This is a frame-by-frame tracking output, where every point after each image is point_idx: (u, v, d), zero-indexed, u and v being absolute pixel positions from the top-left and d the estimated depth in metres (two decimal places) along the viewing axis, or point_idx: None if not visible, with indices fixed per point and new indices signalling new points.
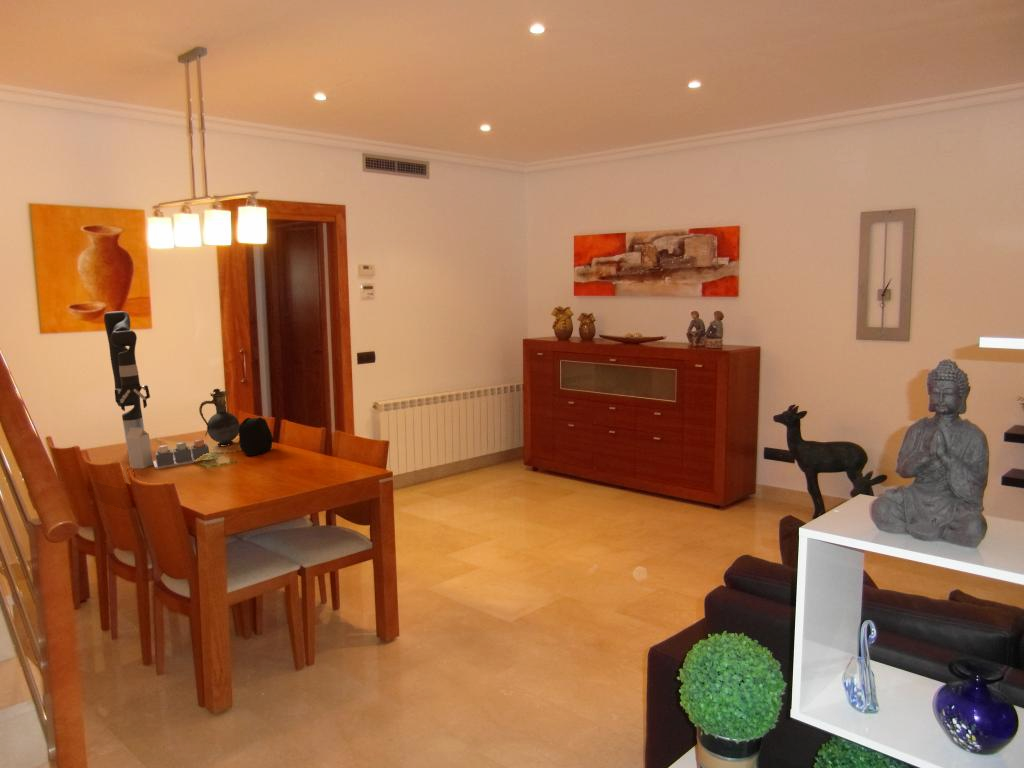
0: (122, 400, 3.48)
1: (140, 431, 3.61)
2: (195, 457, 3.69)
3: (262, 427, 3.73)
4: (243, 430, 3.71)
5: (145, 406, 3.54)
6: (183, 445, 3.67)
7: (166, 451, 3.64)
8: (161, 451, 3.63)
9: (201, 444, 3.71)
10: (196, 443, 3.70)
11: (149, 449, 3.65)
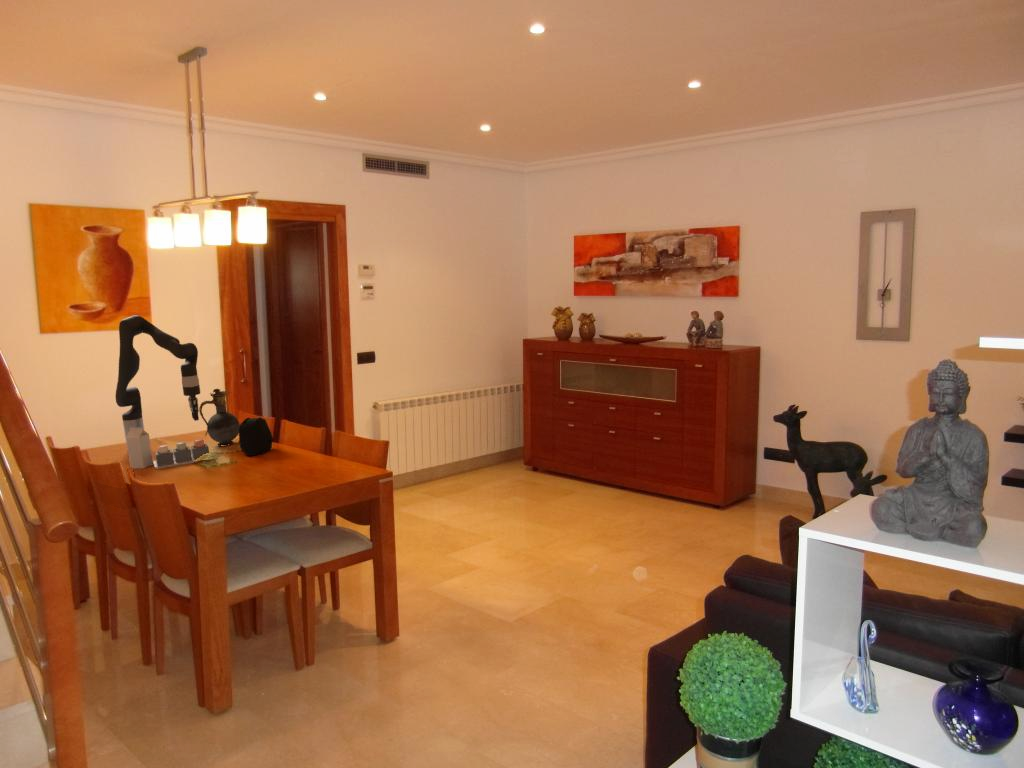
0: (197, 409, 3.67)
1: (140, 431, 3.61)
2: (195, 457, 3.69)
3: (262, 427, 3.73)
4: (243, 430, 3.71)
5: None
6: (183, 445, 3.67)
7: (166, 451, 3.64)
8: (161, 451, 3.63)
9: (201, 444, 3.71)
10: (196, 443, 3.70)
11: (149, 449, 3.65)
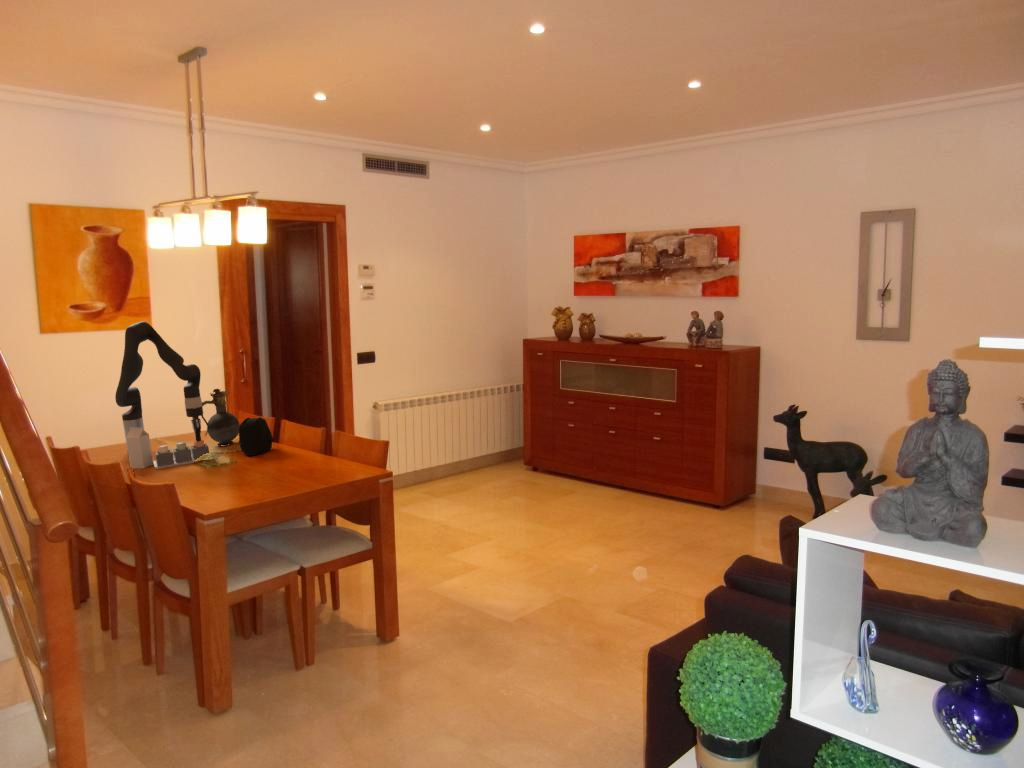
0: None
1: (140, 431, 3.61)
2: (195, 457, 3.69)
3: (262, 427, 3.73)
4: (243, 430, 3.71)
5: None
6: (183, 445, 3.67)
7: (166, 451, 3.64)
8: (161, 451, 3.63)
9: (201, 444, 3.71)
10: (196, 443, 3.70)
11: (149, 449, 3.65)
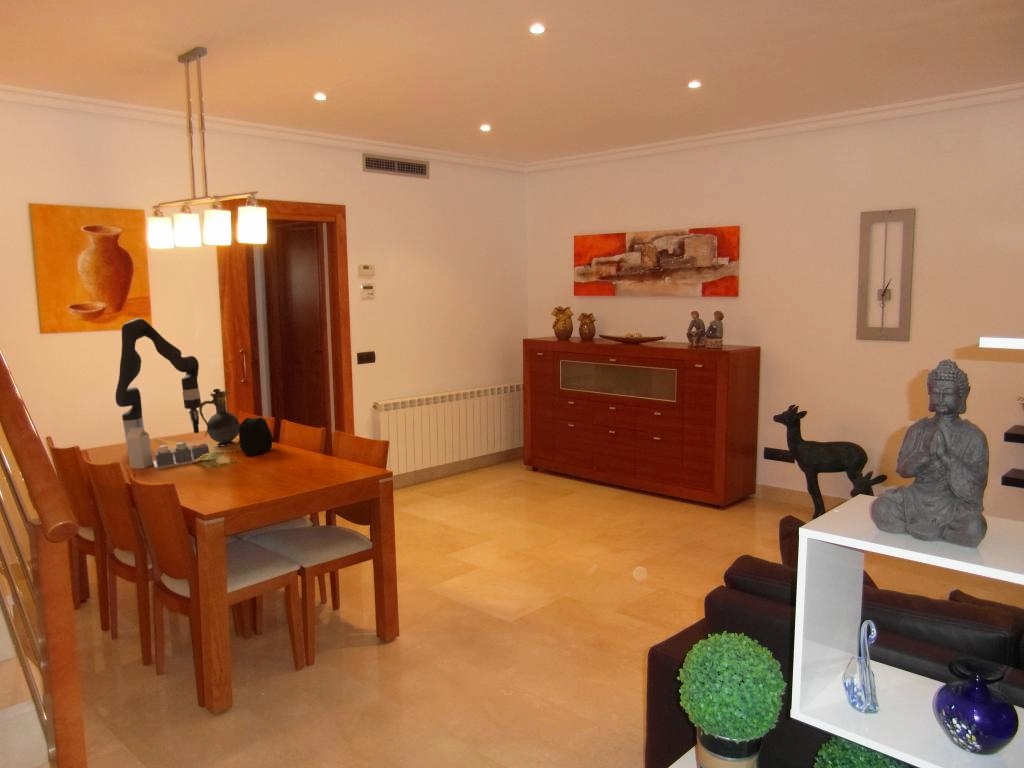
0: None
1: (140, 431, 3.61)
2: (195, 457, 3.69)
3: (262, 427, 3.73)
4: (243, 430, 3.71)
5: None
6: (183, 445, 3.67)
7: (166, 451, 3.64)
8: (161, 451, 3.63)
9: None
10: (197, 447, 3.71)
11: (149, 449, 3.65)
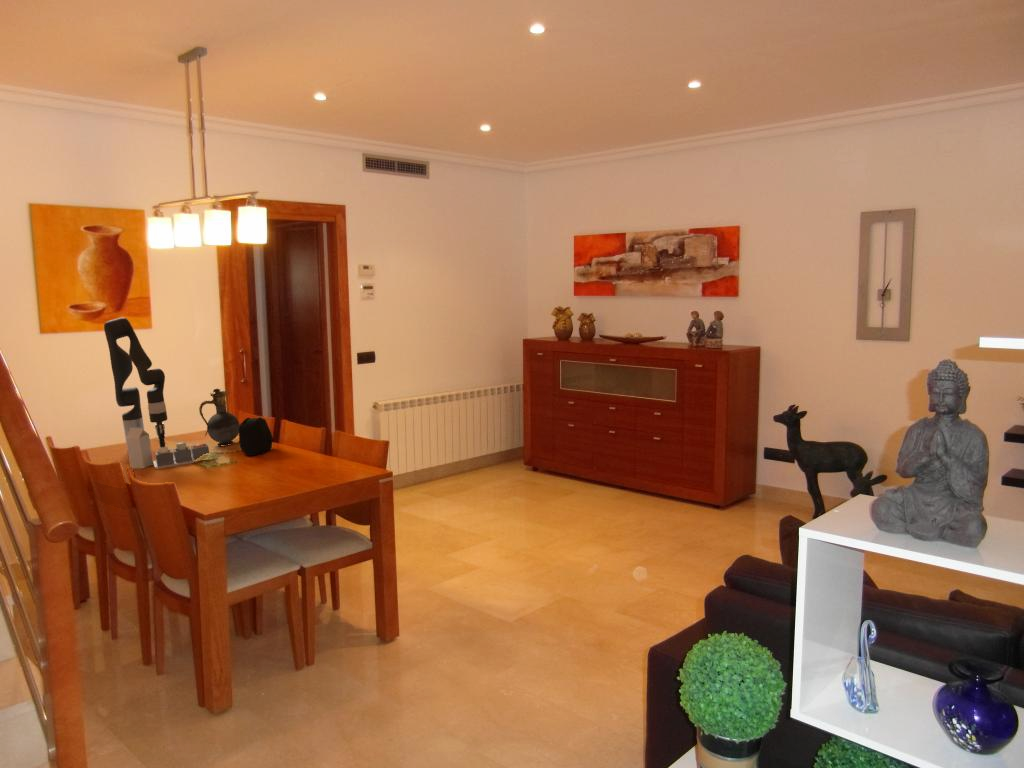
0: None
1: (140, 431, 3.61)
2: (195, 457, 3.69)
3: (262, 427, 3.73)
4: (243, 430, 3.71)
5: None
6: (183, 445, 3.67)
7: (166, 451, 3.64)
8: (161, 452, 3.63)
9: None
10: (197, 447, 3.71)
11: (149, 449, 3.65)
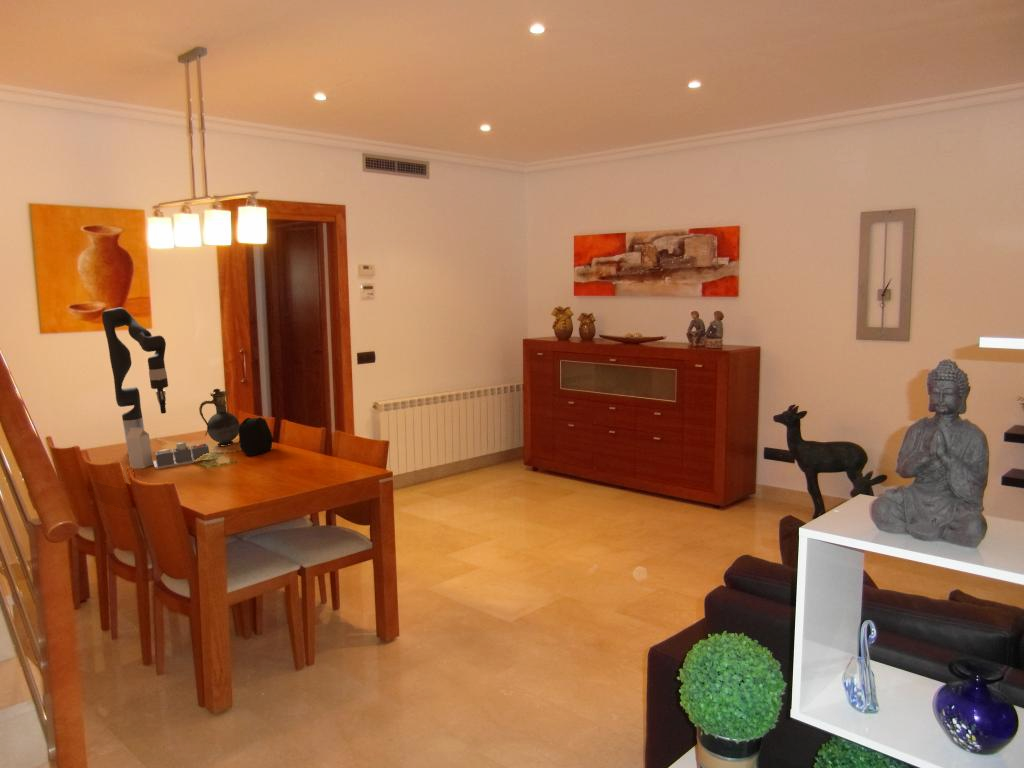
0: None
1: (140, 431, 3.61)
2: (195, 457, 3.69)
3: (262, 427, 3.73)
4: (243, 430, 3.71)
5: None
6: (183, 445, 3.67)
7: None
8: None
9: None
10: (197, 447, 3.71)
11: (149, 449, 3.65)
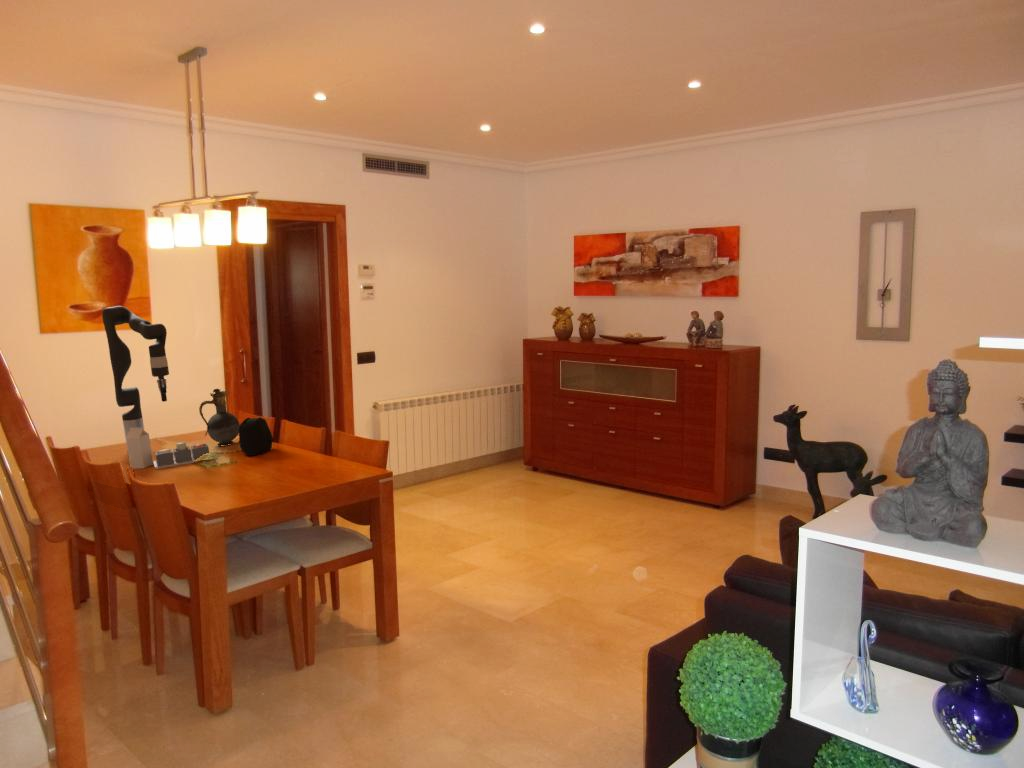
0: (165, 390, 3.69)
1: (140, 431, 3.61)
2: (195, 457, 3.69)
3: (262, 427, 3.73)
4: (243, 430, 3.71)
5: None
6: (183, 445, 3.67)
7: None
8: None
9: None
10: (197, 447, 3.71)
11: (149, 449, 3.65)
